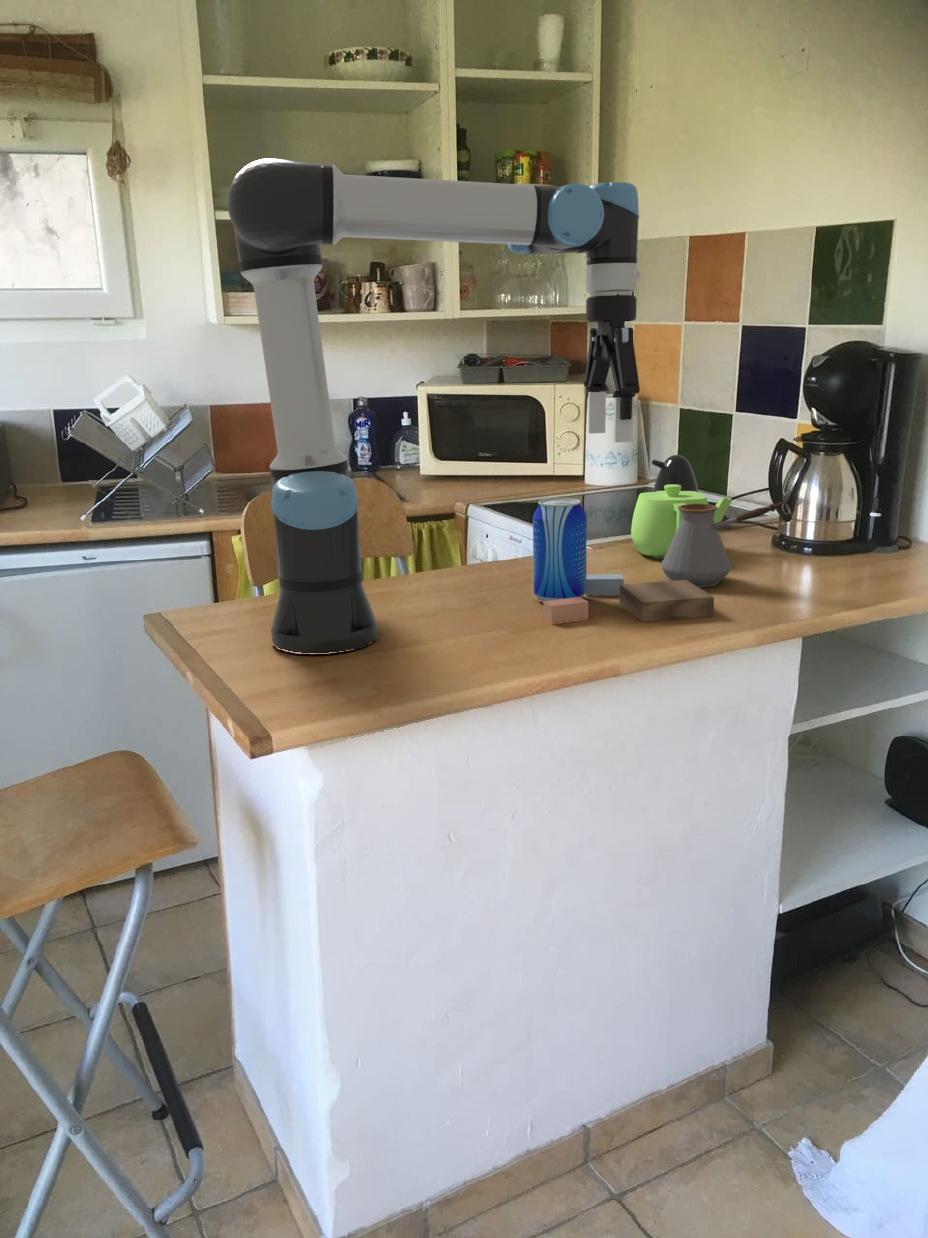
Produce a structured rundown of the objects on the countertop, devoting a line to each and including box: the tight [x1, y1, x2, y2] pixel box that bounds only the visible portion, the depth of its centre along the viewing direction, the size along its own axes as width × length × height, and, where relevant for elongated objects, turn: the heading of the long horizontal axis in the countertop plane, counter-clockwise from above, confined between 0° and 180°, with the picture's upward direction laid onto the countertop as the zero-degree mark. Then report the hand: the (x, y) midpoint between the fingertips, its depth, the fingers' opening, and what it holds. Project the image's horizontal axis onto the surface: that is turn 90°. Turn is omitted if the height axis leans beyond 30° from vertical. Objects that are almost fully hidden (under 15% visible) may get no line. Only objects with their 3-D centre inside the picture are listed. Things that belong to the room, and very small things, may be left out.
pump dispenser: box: [651, 454, 699, 493], centre depth 217 cm, size 10×10×15 cm
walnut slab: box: [619, 580, 715, 623], centre depth 156 cm, size 11×11×3 cm
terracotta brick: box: [542, 597, 589, 624], centre depth 153 cm, size 6×3×3 cm, turn 109°
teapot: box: [630, 484, 733, 559], centre depth 192 cm, size 18×20×13 cm
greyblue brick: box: [585, 573, 625, 596], centre depth 167 cm, size 6×3×3 cm, turn 86°
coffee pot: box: [660, 501, 791, 588], centre depth 167 cm, size 21×12×15 cm, turn 50°
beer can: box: [532, 497, 587, 602], centre depth 162 cm, size 8×8×16 cm
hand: (609, 437), depth 159 cm, fingers open, 13 cm apart
